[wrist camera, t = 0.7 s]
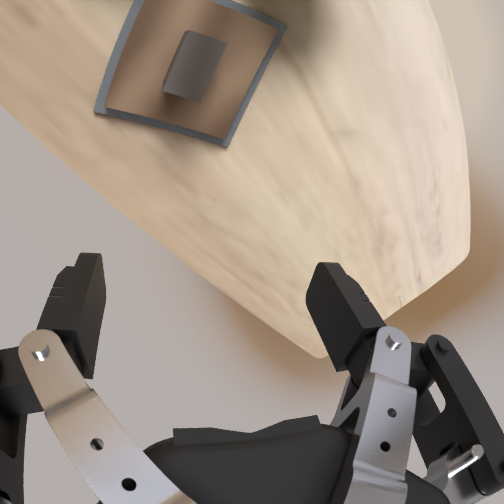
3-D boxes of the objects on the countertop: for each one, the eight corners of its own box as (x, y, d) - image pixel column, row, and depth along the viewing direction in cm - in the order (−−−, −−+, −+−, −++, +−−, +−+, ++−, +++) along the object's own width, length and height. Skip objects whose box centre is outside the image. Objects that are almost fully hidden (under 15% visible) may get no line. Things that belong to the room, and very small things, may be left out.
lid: (105, 104, 24) (92, 121, 19) (153, -14, 18) (150, -28, 13) (222, 135, 29) (236, 158, 25) (274, 29, 23) (300, 29, 18)
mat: (94, 110, 24) (93, 111, 24) (147, -25, 17) (147, -26, 17) (226, 145, 30) (227, 147, 30) (285, 25, 23) (287, 25, 23)
